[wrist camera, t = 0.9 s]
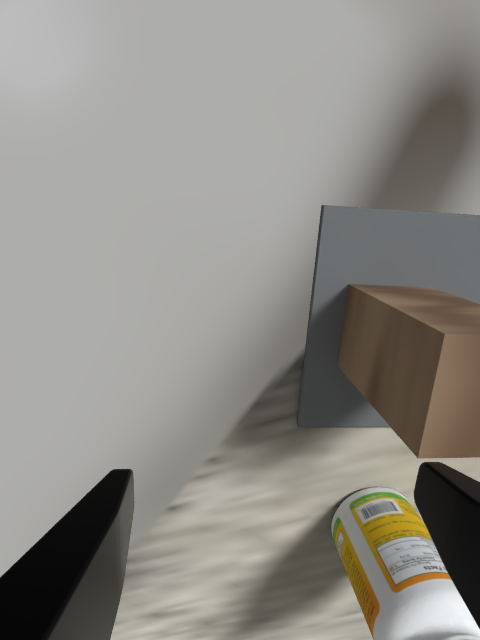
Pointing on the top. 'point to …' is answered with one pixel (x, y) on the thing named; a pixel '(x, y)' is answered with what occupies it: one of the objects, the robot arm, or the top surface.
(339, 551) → the supplement bottle
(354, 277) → the gray flat panel
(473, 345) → the walnut block
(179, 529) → the top surface
